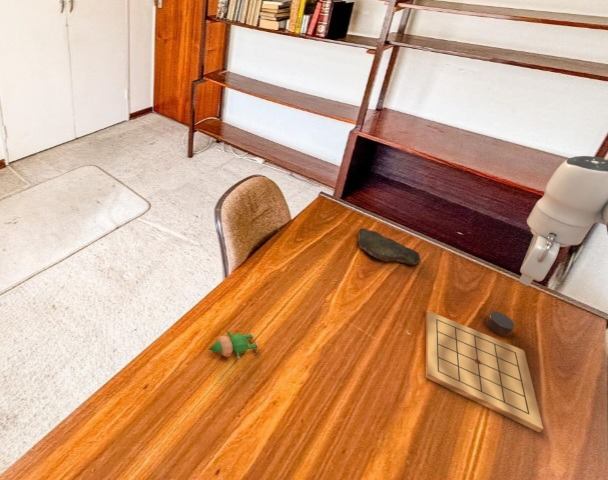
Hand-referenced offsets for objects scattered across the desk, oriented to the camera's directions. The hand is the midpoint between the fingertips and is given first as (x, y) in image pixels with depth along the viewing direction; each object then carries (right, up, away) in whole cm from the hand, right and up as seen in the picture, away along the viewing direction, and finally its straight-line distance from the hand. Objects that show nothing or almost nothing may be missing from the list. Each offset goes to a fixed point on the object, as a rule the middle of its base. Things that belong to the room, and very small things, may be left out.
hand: (527, 272), depth 90 cm
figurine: (-68, -20, +4) cm, 71 cm away
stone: (-12, -8, +35) cm, 38 cm away
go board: (-10, -23, +3) cm, 25 cm away
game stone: (+4, -19, +12) cm, 23 cm away
